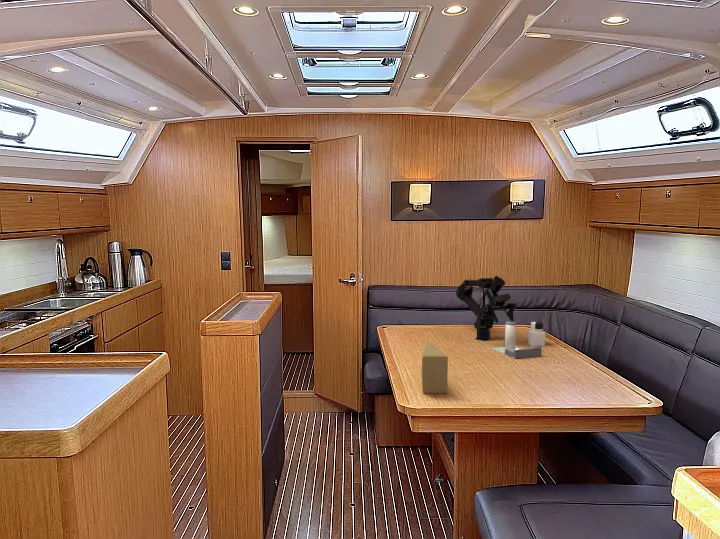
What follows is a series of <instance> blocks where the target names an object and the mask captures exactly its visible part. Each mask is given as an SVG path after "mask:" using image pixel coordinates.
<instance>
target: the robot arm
mask: <svg viewBox="0 0 720 539" xmlns="http://www.w3.org/2000/svg"><path fill="white" fill-rule="evenodd" d="M505 285H506V282H505V280H504V279H503V278H501V277H500V276H499V275H495V276H494V277H482V278H478V279H465V280H463V282H462V283H461V284H460V285H459V286H458V287H457V289H456V292H455V295H456V297H457V298H458V299H459V300H460V301H461V302H464V303H465V304H466V305H467V307H468V308H469V309H470V310H471V312H472V313H473V314H474V315H475V317H476V321H475V322H474V324H473V326H474V328H475V329H476V337H475V338H474V339H475V340H481V341H489V340H491V329H493V326H494V322H495V323H496V324H499V319H498V317H497V315H496V312H495V311H504V312H505V314H506V315H507V317H508V318H509V320H510V321H513V322H515V320H514V311H515V310H516V308H518V305H517V304H516V302H509V301H510V300H511V294H510V293H505V294H500V295H499V293H500V292H501V291H502V289H503V288H504V286H505ZM473 287H478V288H479V289H482V290H483V289H484V292H483V296H484V297H485V296H486V297H487V300H488V302H487V303H488V304H484V306H482V308H481V306H480V305H479V304H478V302H477V301H476V300H475V299H474V298H473V291H474V288H473ZM507 302H508V303H507ZM506 303H507V304H506ZM505 304H506V305H505Z"/></svg>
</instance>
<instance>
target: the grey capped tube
mask: <svg viewBox="0 0 720 539" xmlns="http://www.w3.org/2000/svg"><path fill="white" fill-rule="evenodd" d="M516 328H517V322H516V321H511V320H510V321H509V320H507V321H505V329H504V330H505V331H504V347H505V349H508V350H511V351H514V349H515V346H516V334H517V333H516V331H517V329H516Z"/></svg>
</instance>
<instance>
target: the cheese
mask: <svg viewBox="0 0 720 539" xmlns="http://www.w3.org/2000/svg"><path fill="white" fill-rule="evenodd" d="M448 357H449V356H448V355H447V354H446V353H444V352H443V351H442V350H440V349H439V348H438V347H437V346H436V345H435V344H434V343H432V342H431V341H430V342H428V341H427V342H425V344H424V349H423V353H422V359H421V384H422V389H421V390H422V393H423V394H447V393H448V369H449V367H448V364H449V363H448V362H449V358H448Z"/></svg>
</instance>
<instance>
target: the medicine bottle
mask: <svg viewBox="0 0 720 539" xmlns="http://www.w3.org/2000/svg"><path fill="white" fill-rule="evenodd" d="M543 330H544V323H543V322H541V321H531V322H530V329H528V332H527V343H528V344H529V345H530V347H539V346H541V347H545V346H546V332H545V331H543Z"/></svg>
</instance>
